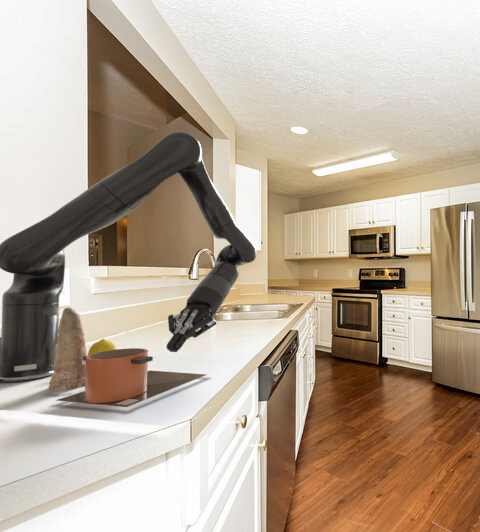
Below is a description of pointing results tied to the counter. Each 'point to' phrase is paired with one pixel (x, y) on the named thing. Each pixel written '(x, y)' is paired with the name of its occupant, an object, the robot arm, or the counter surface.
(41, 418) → the counter surface
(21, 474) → the counter surface
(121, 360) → the pot
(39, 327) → the robot arm
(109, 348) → the lemon
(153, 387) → the hob
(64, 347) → the tapered standing stone
